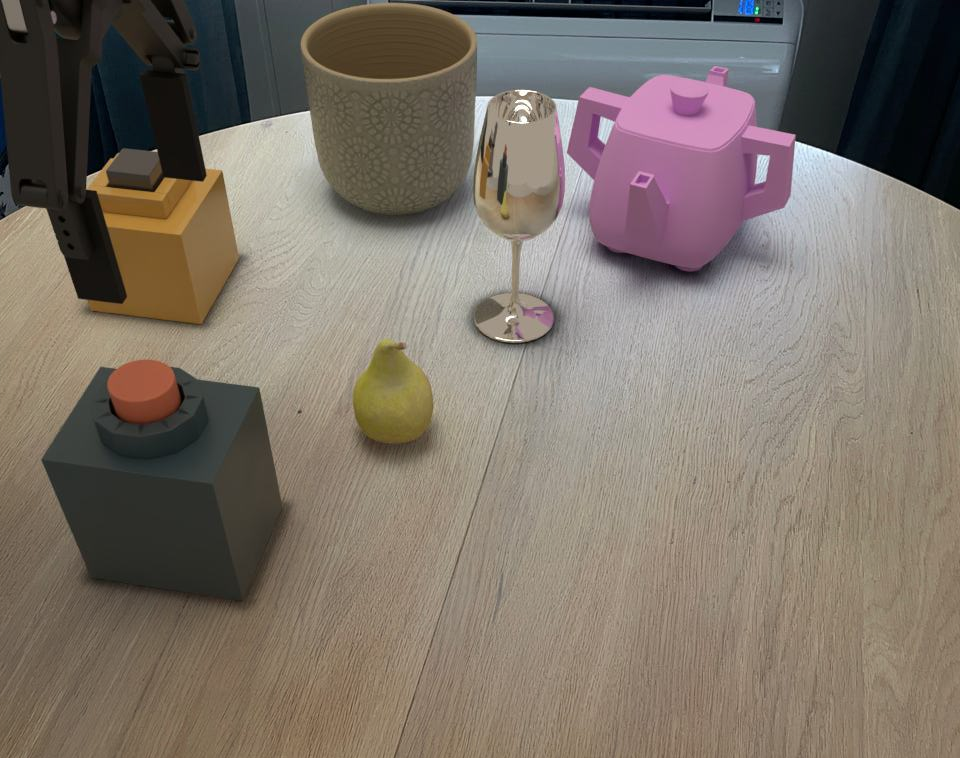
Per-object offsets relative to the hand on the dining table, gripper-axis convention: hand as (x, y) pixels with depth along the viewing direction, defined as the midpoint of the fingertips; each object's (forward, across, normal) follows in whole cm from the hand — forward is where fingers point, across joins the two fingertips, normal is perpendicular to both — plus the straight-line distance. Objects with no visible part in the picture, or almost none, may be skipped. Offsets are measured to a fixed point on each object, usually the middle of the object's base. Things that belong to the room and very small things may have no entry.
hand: (146, 234), depth 66 cm
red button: (+11, -4, +1) cm, 11 cm away
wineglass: (+24, +30, -19) cm, 43 cm away
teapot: (+24, +46, -32) cm, 61 cm away
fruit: (+24, +12, -12) cm, 29 cm away
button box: (+24, -4, +1) cm, 25 cm away
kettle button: (+14, +29, +15) cm, 35 cm away
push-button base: (+24, +28, +15) cm, 40 cm away
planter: (+24, +50, -3) cm, 55 cm away
